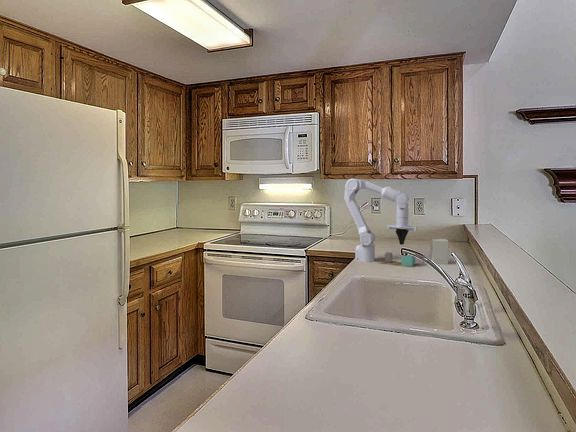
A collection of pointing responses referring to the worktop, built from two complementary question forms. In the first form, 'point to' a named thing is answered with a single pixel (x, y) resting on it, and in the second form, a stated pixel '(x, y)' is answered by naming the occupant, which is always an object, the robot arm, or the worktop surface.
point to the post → (388, 257)
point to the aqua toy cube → (408, 260)
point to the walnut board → (396, 264)
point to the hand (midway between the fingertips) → (401, 244)
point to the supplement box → (439, 251)
